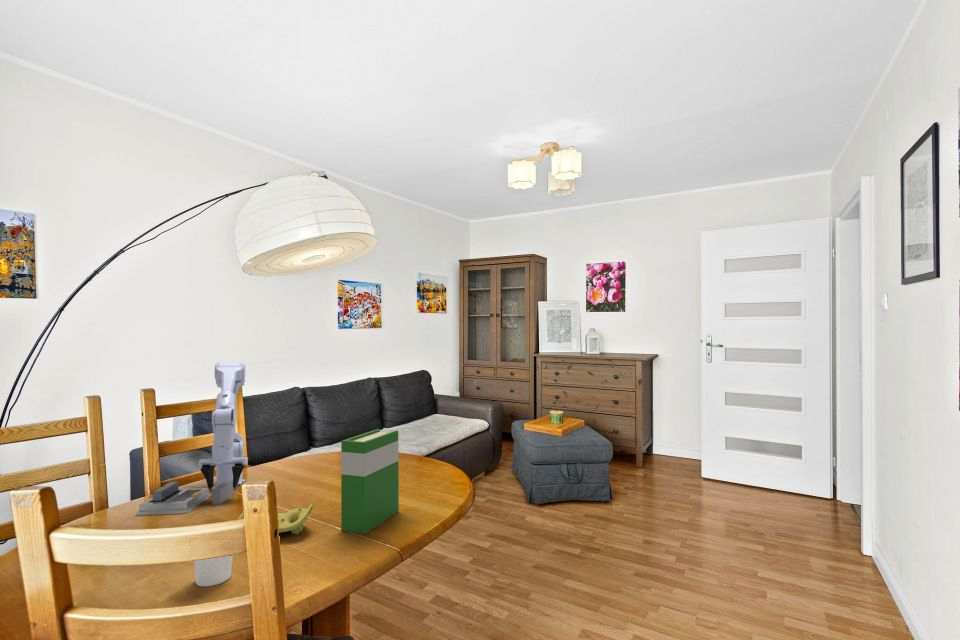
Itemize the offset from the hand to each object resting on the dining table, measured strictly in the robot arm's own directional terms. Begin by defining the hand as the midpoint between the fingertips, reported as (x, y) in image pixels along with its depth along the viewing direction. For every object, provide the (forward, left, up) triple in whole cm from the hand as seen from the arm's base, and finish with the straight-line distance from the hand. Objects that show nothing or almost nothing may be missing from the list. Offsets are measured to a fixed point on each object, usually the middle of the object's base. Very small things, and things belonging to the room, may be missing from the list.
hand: (223, 487), depth 157 cm
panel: (0, 0, -4) cm, 4 cm away
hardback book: (+25, +50, -4) cm, 56 cm away
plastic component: (+30, +26, -4) cm, 40 cm away
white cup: (+55, +20, -4) cm, 59 cm away
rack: (+4, -13, -4) cm, 14 cm away
